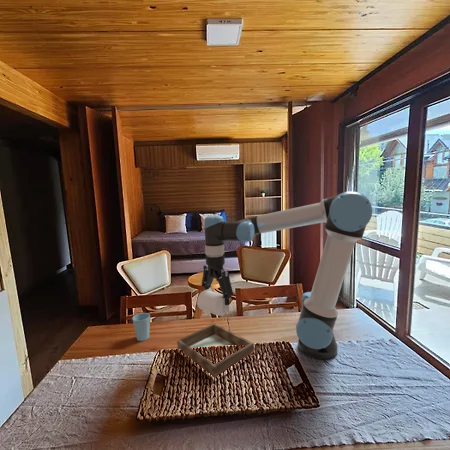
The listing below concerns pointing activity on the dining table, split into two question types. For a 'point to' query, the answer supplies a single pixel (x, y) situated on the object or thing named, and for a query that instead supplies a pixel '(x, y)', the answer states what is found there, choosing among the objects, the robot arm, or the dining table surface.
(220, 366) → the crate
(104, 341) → the dining table surface
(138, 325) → the cup
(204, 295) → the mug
